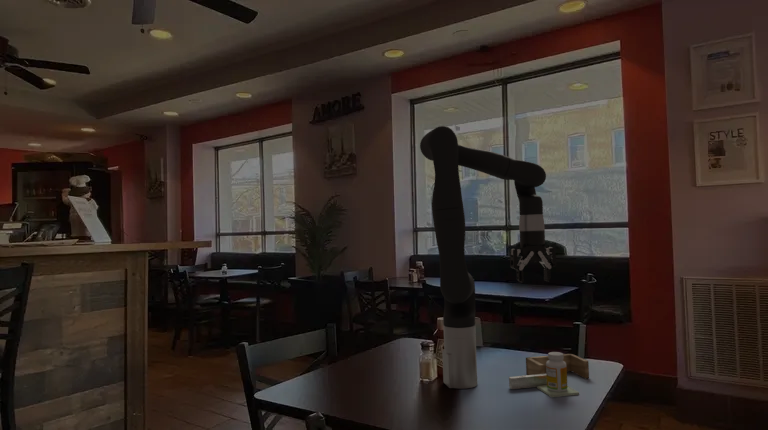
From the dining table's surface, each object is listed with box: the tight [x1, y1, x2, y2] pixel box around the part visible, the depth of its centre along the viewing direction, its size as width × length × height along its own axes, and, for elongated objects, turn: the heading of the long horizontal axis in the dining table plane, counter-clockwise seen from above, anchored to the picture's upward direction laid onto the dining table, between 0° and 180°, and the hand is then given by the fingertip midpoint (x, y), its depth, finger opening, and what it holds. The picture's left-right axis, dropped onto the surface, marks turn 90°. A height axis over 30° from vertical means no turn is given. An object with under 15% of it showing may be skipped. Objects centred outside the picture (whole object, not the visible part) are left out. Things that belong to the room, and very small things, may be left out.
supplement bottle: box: [545, 351, 569, 392], centre depth 141 cm, size 5×5×10 cm
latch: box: [508, 373, 547, 390], centre depth 146 cm, size 14×2×4 cm, turn 100°
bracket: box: [525, 353, 590, 379], centre depth 155 cm, size 15×9×5 cm, turn 100°
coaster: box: [536, 385, 580, 398], centre depth 141 cm, size 8×8×1 cm
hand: (534, 281), depth 160 cm, fingers open, 8 cm apart
